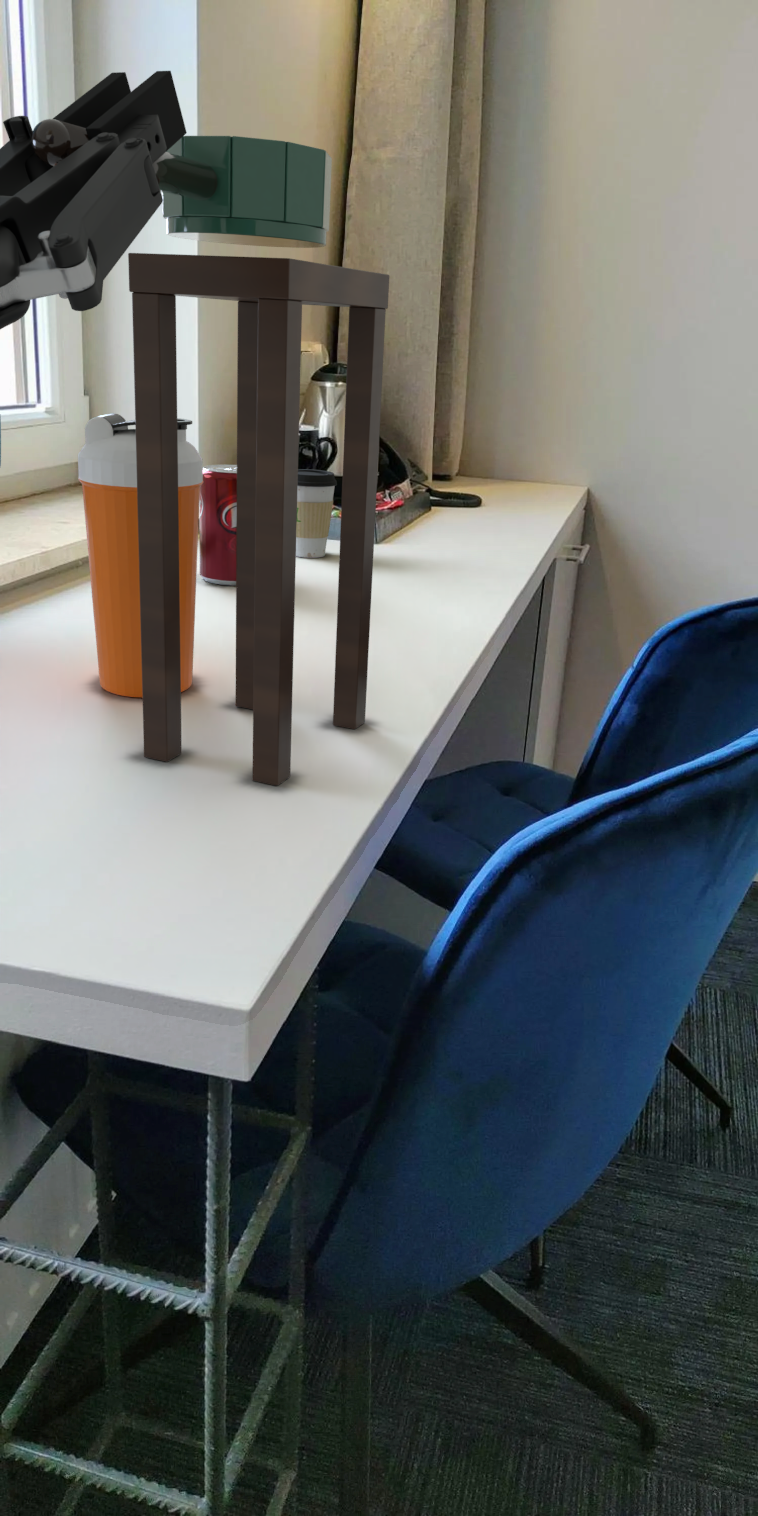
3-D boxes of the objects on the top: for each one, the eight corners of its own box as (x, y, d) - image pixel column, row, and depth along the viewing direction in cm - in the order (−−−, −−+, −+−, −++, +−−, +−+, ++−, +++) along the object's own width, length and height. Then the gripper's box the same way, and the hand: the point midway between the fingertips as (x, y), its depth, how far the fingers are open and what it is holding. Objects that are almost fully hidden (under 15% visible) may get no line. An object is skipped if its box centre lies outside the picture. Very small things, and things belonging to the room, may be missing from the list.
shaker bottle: (200, 703, 83) (198, 425, 76) (78, 700, 82) (64, 418, 75) (207, 669, 91) (206, 414, 84) (96, 666, 90) (86, 409, 83)
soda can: (185, 578, 122) (184, 466, 118) (230, 569, 128) (230, 462, 123) (235, 589, 118) (236, 474, 114) (279, 580, 124) (281, 469, 120)
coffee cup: (295, 547, 142) (297, 467, 139) (342, 553, 140) (345, 472, 137) (272, 555, 137) (274, 472, 133) (321, 561, 134) (324, 477, 131)
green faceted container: (215, 244, 69) (216, 160, 67) (354, 249, 66) (358, 162, 64) (-45, 200, 49) (-53, 80, 48) (135, 204, 46) (132, 77, 44)
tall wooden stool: (278, 787, 69) (289, 258, 58) (141, 757, 72) (127, 252, 61) (367, 722, 81) (389, 274, 70) (246, 699, 84) (250, 269, 74)
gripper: (-257, 440, 45) (51, 183, 58) (44, 475, 40) (305, 185, 53) (-379, 257, 39) (-8, 19, 53) (-47, 270, 34) (270, 4, 48)
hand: (149, 103), depth 53 cm, fingers closed on green faceted container, 2 cm apart
